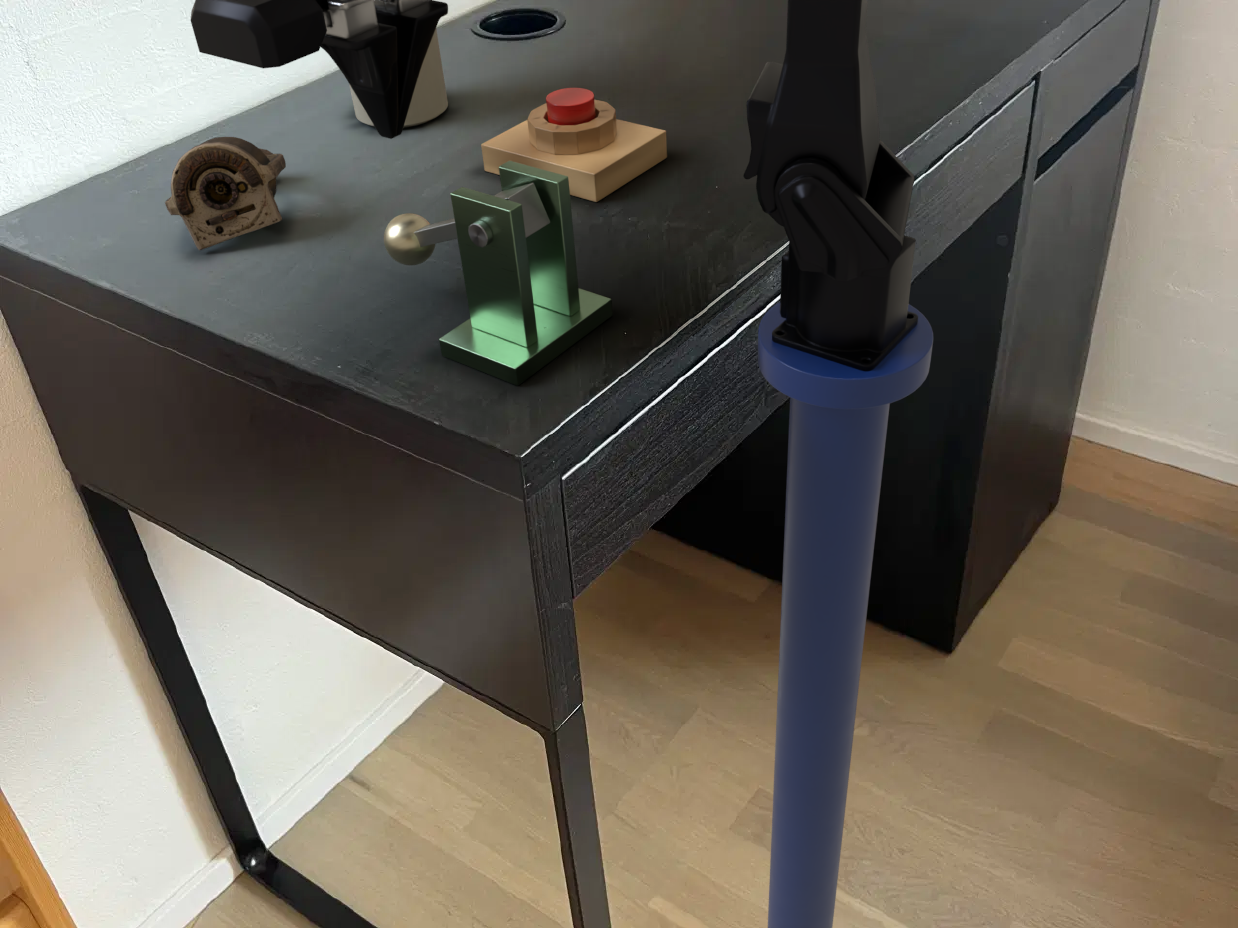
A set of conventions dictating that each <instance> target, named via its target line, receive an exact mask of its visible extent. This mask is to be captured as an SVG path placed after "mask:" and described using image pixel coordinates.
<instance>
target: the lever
mask: <svg viewBox="0 0 1238 928" xmlns="http://www.w3.org/2000/svg"><path fill="white" fill-rule="evenodd" d="M493 196H495V197H499V198H502V199H506V200H509V201H513V202H516V203H519V204H522V210H523V219H524V227H525V235H526V238H527V237H528V236H530V235H532V234H533V233H535V232H536V231H538V230H539V229H541V228H543V227H544V226H546V225H547V224H549V223H550V220H549V218H548V216H547V213H546V211H545V208H544V206H543V204H542V201H541V199H540V197H539V194H538V192H537V190H536V187H535V185H534V183H531V184H527V185H523V186H519V187H516V188H512V189H508V190H505V191H502V190H501V191H499V192H498V193H496V194H494V195H493ZM454 240H458V238H457V232H456V226H455V220H454V217H453V218H449V219H445V220H441V221H437V222H434V223H430V222H429V221H428V220H427V219H426V218H425V217H423V216H421V215H419V214H417V213H411V212H410V213H409V212H407V213H402V214H399V215H397V216H395V217H394V218H392V219H391V220H390V221H389V223H388V224H387V225H386V227H385V230H384V232H383V244H384V248H385V250H386V251H387V253H388V255H389V256H390V257H391V258H392V259H393V260H394V261H395V262H397V263H399V264H401V265H404V266H418V265H421V264H423V263H425V262H426V261H427V260H428V259H430V257H431V256H432V255H433V253H434V251H435V249H436V245H437V244H440V243H445V242H450V241H454Z"/></svg>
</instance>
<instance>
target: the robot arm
mask: <svg viewBox="0 0 1238 928" xmlns="http://www.w3.org/2000/svg"><path fill="white" fill-rule="evenodd" d="M868 7H869V0H787V9H786V11H787V14H786V39H785V42H786V43H785V44H786V45H785V48H786V49H785V54H784V57H783V58H784V59H783V62H782V63H779V62H775V61H769V60H768V61H766V63H765V65H764V67H763V69H762V71H761V73H760V74H759V77H758V78H757V81H756V82H755V84H754V87H753V89H752V91H751V93H750V94H749V97H748V98H747V101H746V120H747V126H748V133H749V138H750V155H749V162H748V164H747V166H746V168H745V170H744V173H743V179H745V180H750V179H752V178H755V177H756V183H755V189H756V195H757V201H758V203H759V205H760V208H761V210H762V211H763V212H764V213H765V214H767V215H769V216H770V217H771V218H772V219H773V221H775V222H776V223H777V225H779V226H781V227H783V228H784V231H785V234H786V236H787V239H788V251H787V252H785V253H784V254H783V255H782V256H781V260H780V261H781V264H780V290H779V291H780V293H779V294H780V295H779V296H780V297H779V302H780V315H781V317H782V318H785V319H786V320H785V321H784V322H782V323H781V324H780V325H779V326H778V327H777V328H776V329H775V330H773V332H772V341H773V342H775V343H778V344H781V345H784V346H787V347H790V348H793V349H796V350H799V351H802V352H805V353H808V354H811V355H815V356H818V357H821V358H824V359H827V360H830V361H833V362H836V363H839V364H842V365H845V366H848V367H851V368H855V369H858V370H861V371H872V370H873V369H874V368H875V367H876V366H877V365H878V364H879V363H880V362H881V361H882V360H883V359H884V358H885V357H886V356H887V355H888V354H889V353H890V352H891V351H892V350H893V349H894V348H895V347H896V346H897V345H898V344H899V342H900V341H901V340H902V339H903V338H904V337H905V336H906V335H907V334H908V333H909V332H910V331H911V330H912V329H913V328H914V327H915V326H916V325H917V323H918V315H917V314H915V313H912V312H909V311H908V304H910V303H909V302H910V292H911V286H912V278H913V277H912V276H913V266H914V260H915V259H914V258H915V250H916V241H917V239H916V238H914V237H912V236H909V235H908V236H907V235H905V233H906V228H907V222H908V218H909V217H908V216H909V213H910V212H909V211H910V205H911V200H912V195H913V191H914V184H915V175H914V174H913V173H912V172H911V170H910V169H909V168H908V167H907V166H906V165H905V164H904V162H902V161H901V160H900V159H899V158H898V156H896V154H895V153H894V152H893V151H892V150H891V149H890V147H888V146H887V144H886V143H884V142H883V141H882V140H881V129H880V120H879V119H880V118H879V110H878V109H879V107H878V100H877V99H878V98H877V90H876V89H877V88H876V81H875V75H874V70H873V65H872V60H871V55H870V50H869V44H868V38H867V37H868V36H867V18H868ZM448 14H449V4H448V3H447V2H444V1H438V0H194V2H193V6H192V9H191V12H190V23H191V27H192V31H193V35H194V38H195V41H196V44H197V48H198V51H199V53H201V54H204V55H209V56H213V57H217V58H220V59H225V60H229V61H232V62H236V63H241V64H244V65H249V66H252V67H256V68H260V69H271V68H280V67H282V66H286V65H287V64H291V63H292V62H295V61H297V60H299V59H302V58H305V57H307V56H310V55H312V54H315V53H317V52H319V51H320V49H323V51H325V53H326V54H328V56H329V57H330V58H331V60H332V61H333V63H335V65H336V66H337V68H338V69H339V70H340V72H341V73H342V74H343V76H344V78H345V79H346V81H347V83H348V85H349V84H350V85H349V87H350V86H351V88H352V89H353V91H354V93H355V94H356V96H357V98H358V99H359V101H360V103H361V104H362V106H363V108H364V109H365V111H366V113H367V114H368V116H369V118H370V120H371V121H372V123H373V125H374V126H373V127H374V128H375V130H376V131H377V133H378V134H379V136H381V137H382V138H386V139H389V140H392V139H395V138H396V137H398V136H400V135H402V133H403V130H404V128H405V127H404V124H405V120H406V117H407V113H408V110H409V107H410V103H411V100H412V96H413V93H414V90H415V86H416V83H417V78H418V77H419V73H420V70H421V67H422V64H423V61H424V59H425V56H426V53H427V51H428V48H429V45H430V43H431V40H432V37H433V35H434V32H435V29H436V30H437V26H438V24H439V21H440V20H441V19H442V17H445V16H447V15H448ZM403 127H404V128H403Z"/></svg>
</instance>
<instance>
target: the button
mask: <svg viewBox="0 0 1238 928" xmlns="http://www.w3.org/2000/svg"><path fill="white" fill-rule="evenodd" d="M594 99H595V94H594V92H593V91H592V90H590V89H587V88H583V87H566V88H560V89H557V90H554V91H552V92H550V93H548V94H547V95H546V97H545V103H546V104H547V114H548V122H549V123H552V124H556V125H578V124H583V123H587V122H590V121H592V120H593V119H595V118H596V114H595V100H596V99H595V100H594Z"/></svg>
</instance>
